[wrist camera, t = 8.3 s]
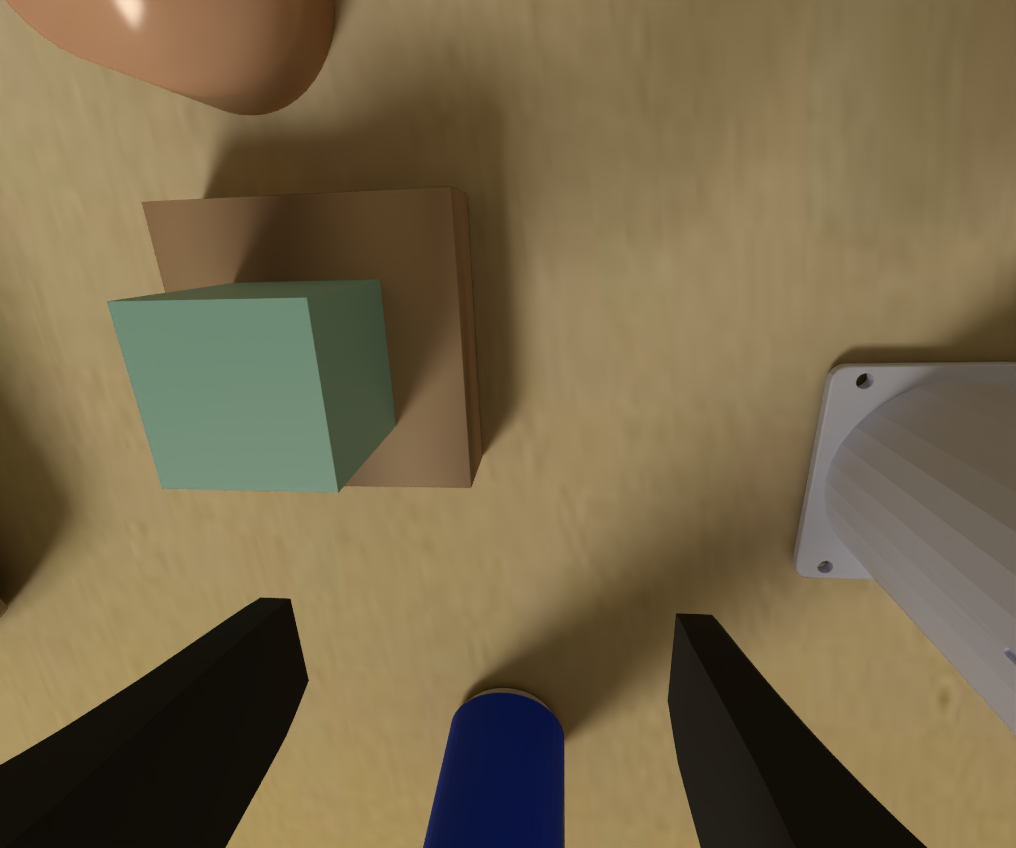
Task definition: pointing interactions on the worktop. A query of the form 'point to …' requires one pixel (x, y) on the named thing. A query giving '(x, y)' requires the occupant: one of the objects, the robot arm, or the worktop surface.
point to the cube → (259, 382)
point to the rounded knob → (197, 44)
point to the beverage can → (500, 776)
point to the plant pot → (2, 608)
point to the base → (360, 256)
